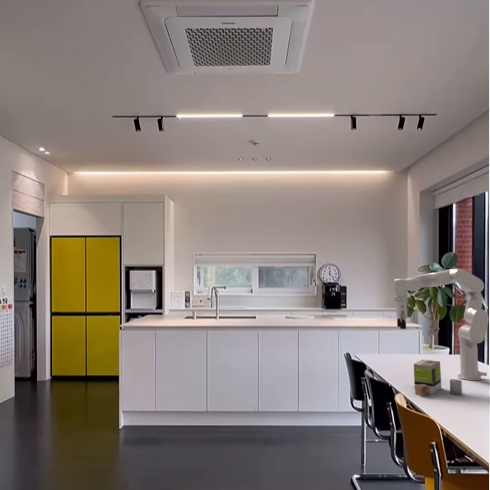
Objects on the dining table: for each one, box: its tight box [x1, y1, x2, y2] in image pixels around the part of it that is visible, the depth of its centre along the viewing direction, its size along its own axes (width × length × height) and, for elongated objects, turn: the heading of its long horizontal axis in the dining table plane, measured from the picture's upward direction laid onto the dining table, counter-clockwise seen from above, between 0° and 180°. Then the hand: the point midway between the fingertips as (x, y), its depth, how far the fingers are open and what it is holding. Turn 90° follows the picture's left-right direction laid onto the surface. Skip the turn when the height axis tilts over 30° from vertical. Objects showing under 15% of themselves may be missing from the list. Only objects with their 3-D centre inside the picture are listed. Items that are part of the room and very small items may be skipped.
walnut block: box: [414, 384, 431, 398], centre depth 240 cm, size 5×5×5 cm
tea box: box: [413, 359, 442, 394], centre depth 251 cm, size 15×10×15 cm, turn 141°
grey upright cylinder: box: [449, 378, 463, 396], centre depth 242 cm, size 6×6×7 cm
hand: (401, 327), depth 276 cm, fingers open, 9 cm apart
